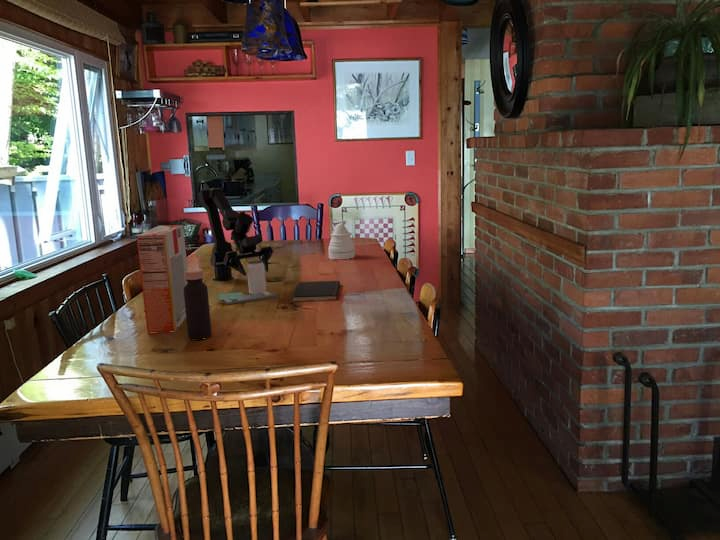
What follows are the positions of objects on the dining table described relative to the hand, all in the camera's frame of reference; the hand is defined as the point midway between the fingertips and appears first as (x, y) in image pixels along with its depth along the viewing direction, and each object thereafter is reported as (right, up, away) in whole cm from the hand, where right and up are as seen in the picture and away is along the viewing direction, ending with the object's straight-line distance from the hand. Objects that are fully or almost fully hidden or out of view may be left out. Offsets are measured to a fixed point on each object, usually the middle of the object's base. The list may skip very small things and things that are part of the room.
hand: (256, 273), depth 226 cm
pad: (-9, -9, -3) cm, 13 cm away
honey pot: (+30, +7, +67) cm, 74 cm away
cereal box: (-22, -16, -32) cm, 42 cm away
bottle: (-8, -19, -49) cm, 53 cm away
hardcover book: (+23, -8, -1) cm, 24 cm away
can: (0, -8, +2) cm, 8 cm away
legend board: (-1, -9, -7) cm, 12 cm away
